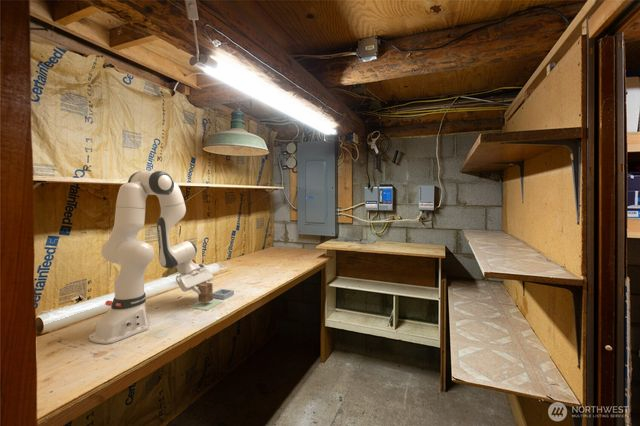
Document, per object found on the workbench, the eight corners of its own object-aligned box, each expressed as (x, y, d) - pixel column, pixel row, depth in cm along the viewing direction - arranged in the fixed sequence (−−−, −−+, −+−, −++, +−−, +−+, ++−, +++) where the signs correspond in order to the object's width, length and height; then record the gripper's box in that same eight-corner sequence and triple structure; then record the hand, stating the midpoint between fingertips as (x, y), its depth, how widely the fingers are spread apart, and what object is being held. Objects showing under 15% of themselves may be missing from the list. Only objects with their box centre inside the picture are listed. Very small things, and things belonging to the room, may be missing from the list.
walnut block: (206, 303, 156) (205, 286, 156) (198, 301, 158) (198, 285, 157) (212, 299, 161) (212, 283, 160) (205, 298, 163) (204, 282, 162)
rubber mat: (206, 310, 152) (206, 309, 152) (188, 307, 156) (188, 306, 156) (222, 302, 163) (222, 301, 163) (204, 299, 167) (204, 298, 167)
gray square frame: (224, 299, 167) (224, 295, 167) (211, 297, 170) (211, 293, 170) (234, 294, 175) (233, 290, 175) (221, 292, 178) (221, 288, 178)
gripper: (177, 272, 151) (193, 294, 149) (206, 263, 170) (220, 282, 168) (170, 280, 153) (186, 301, 151) (200, 270, 172) (214, 289, 170)
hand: (204, 291), depth 159 cm, fingers closed on walnut block, 5 cm apart
